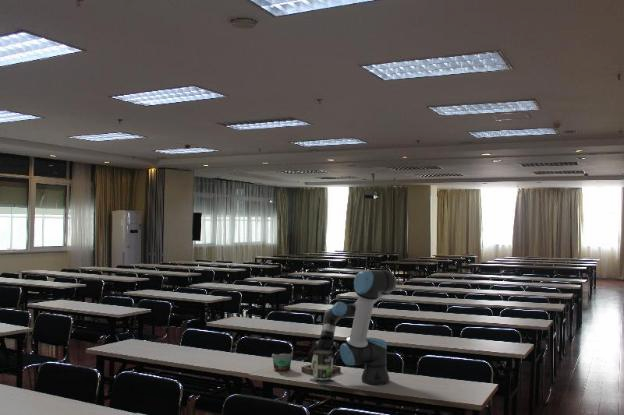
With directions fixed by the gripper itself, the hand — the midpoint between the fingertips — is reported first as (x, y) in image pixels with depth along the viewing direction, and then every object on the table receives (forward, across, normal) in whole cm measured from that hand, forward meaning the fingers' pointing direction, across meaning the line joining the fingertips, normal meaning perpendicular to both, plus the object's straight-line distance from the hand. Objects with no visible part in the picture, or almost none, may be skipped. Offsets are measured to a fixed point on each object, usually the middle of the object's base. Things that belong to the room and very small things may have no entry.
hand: (321, 368), depth 320 cm
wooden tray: (-9, +4, -20) cm, 22 cm away
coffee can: (+2, 0, -6) cm, 6 cm away
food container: (-6, +26, -17) cm, 32 cm away
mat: (+3, 0, -7) cm, 8 cm away
